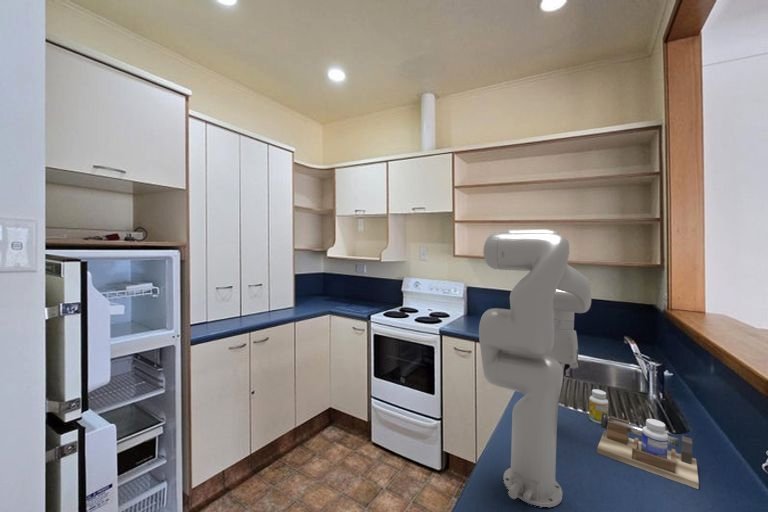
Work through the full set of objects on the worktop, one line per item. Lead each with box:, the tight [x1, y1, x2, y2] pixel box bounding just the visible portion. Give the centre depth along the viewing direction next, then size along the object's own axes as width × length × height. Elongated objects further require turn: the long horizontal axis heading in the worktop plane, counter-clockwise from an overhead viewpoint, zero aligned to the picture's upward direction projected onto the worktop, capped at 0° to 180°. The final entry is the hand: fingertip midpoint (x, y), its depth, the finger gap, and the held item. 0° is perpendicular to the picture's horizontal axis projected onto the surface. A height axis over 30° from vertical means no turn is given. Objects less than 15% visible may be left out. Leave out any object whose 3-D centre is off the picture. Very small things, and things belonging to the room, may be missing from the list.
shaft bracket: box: [596, 415, 700, 490], centre depth 90 cm, size 12×20×7 cm, turn 49°
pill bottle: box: [641, 418, 669, 459], centre depth 88 cm, size 5×5×10 cm
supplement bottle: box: [588, 388, 609, 425], centre depth 111 cm, size 5×5×10 cm
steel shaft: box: [600, 413, 680, 448], centre depth 94 cm, size 4×17×4 cm, turn 49°
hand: (557, 383), depth 104 cm, fingers closed
